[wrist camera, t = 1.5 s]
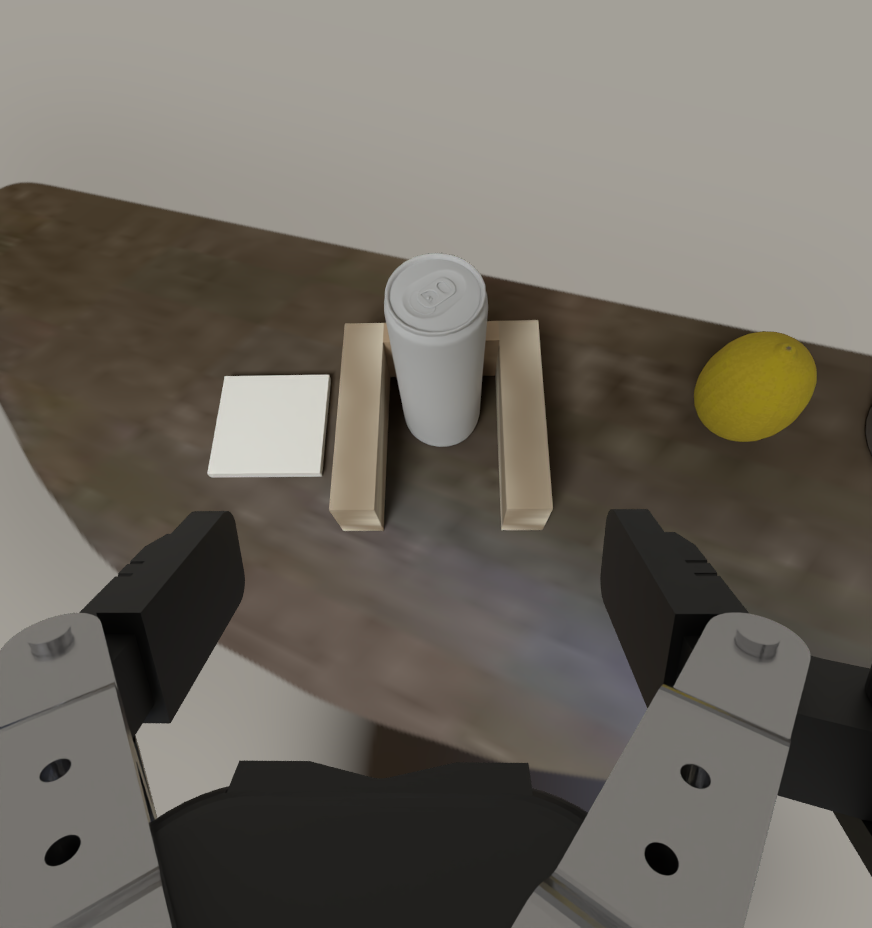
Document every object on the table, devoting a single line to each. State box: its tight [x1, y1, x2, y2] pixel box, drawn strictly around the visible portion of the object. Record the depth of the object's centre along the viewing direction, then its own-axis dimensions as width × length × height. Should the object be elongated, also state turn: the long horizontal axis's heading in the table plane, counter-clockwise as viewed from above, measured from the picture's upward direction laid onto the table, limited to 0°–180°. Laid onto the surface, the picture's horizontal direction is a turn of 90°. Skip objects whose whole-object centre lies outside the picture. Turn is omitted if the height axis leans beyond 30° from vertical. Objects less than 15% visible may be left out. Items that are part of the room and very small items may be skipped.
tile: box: [207, 375, 331, 477], centre depth 36 cm, size 7×7×1 cm
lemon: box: [694, 331, 817, 442], centre depth 31 cm, size 6×6×8 cm
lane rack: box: [329, 320, 553, 531], centre depth 33 cm, size 12×12×4 cm
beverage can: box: [384, 253, 488, 447], centre depth 30 cm, size 5×5×12 cm
